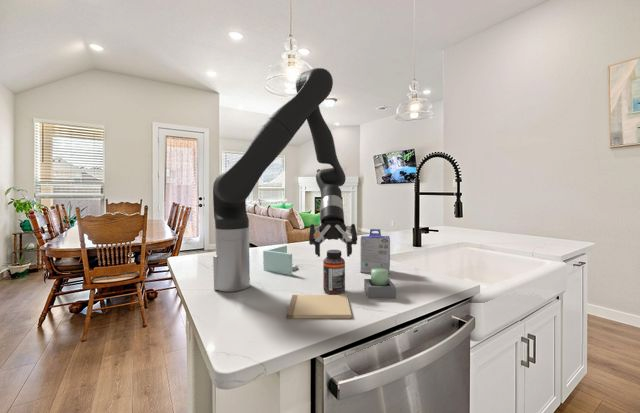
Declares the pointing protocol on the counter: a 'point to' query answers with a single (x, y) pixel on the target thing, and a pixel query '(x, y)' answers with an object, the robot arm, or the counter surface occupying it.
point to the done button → (379, 276)
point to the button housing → (379, 290)
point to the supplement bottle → (334, 273)
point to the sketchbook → (319, 306)
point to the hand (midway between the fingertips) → (333, 255)
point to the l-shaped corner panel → (278, 260)
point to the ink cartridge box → (375, 251)
